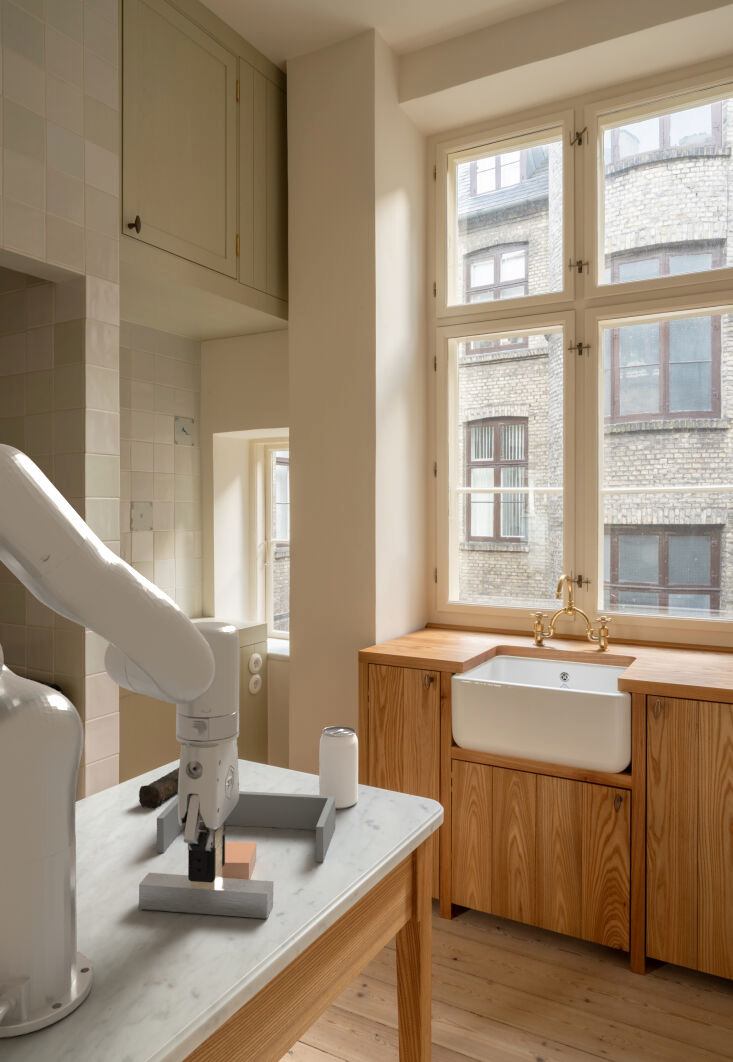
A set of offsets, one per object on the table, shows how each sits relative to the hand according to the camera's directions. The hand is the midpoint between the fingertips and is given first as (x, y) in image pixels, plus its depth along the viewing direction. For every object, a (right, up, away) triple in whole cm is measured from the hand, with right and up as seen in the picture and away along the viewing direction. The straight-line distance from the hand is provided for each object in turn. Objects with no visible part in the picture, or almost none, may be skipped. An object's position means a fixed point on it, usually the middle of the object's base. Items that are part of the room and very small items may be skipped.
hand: (207, 871), depth 91 cm
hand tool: (-13, -4, +39) cm, 41 cm away
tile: (+1, -5, +9) cm, 10 cm away
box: (+2, -4, +18) cm, 19 cm away
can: (+15, -4, +33) cm, 36 cm away
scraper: (0, -4, 0) cm, 4 cm away
